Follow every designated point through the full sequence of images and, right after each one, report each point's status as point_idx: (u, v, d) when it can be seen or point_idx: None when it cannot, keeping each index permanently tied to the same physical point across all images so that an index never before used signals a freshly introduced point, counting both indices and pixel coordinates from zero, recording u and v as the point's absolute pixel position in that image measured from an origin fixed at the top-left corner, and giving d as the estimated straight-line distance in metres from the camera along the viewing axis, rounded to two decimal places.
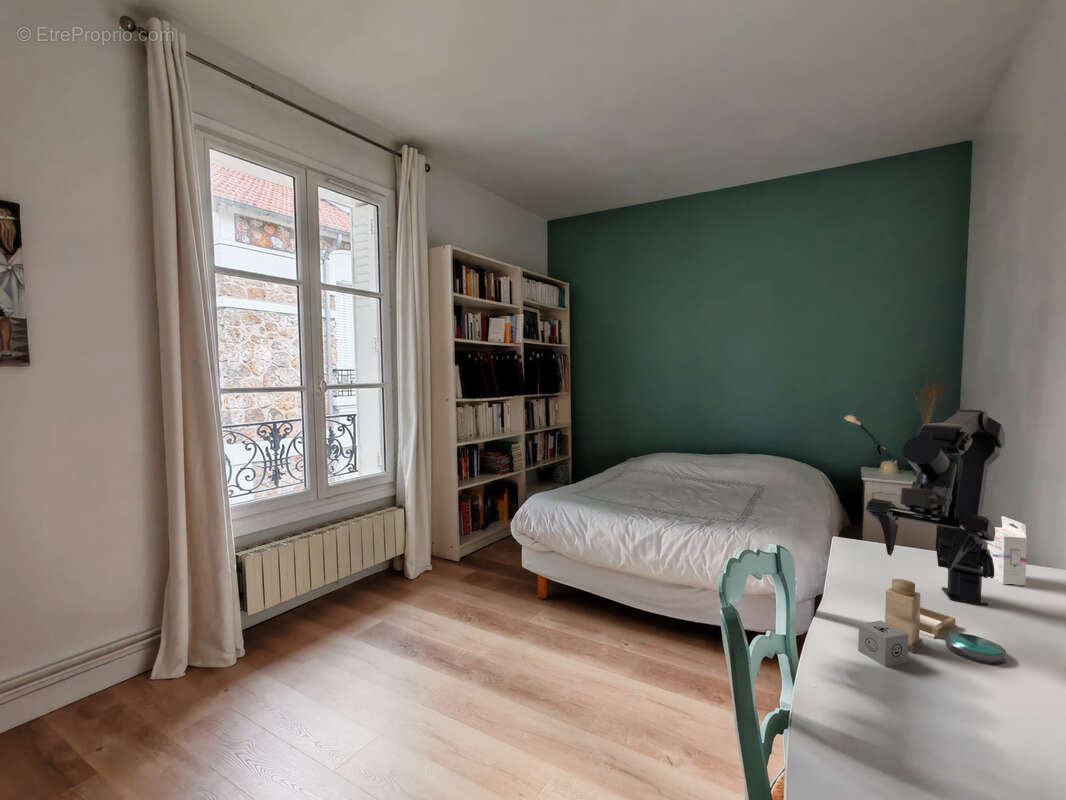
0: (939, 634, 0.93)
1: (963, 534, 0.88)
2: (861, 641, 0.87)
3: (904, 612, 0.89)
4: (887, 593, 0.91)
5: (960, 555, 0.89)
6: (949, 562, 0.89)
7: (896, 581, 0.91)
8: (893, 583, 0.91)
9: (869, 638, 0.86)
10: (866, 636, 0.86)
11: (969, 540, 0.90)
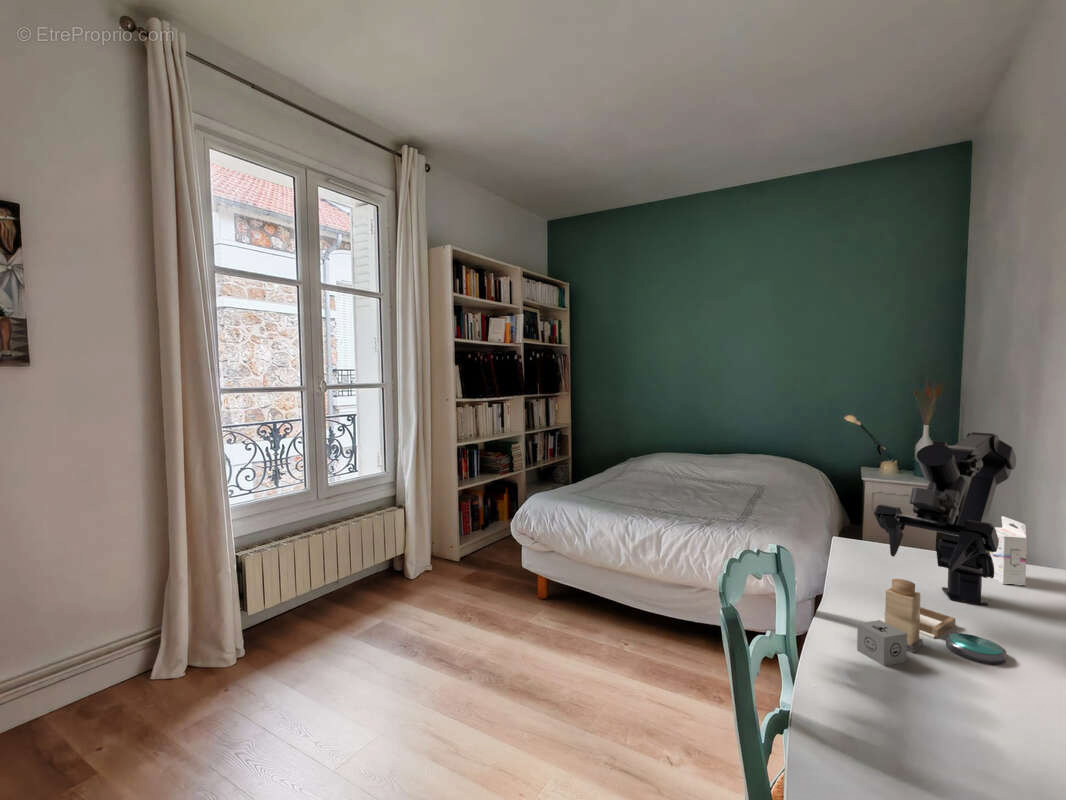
0: (939, 634, 0.93)
1: (968, 537, 0.91)
2: (860, 641, 0.88)
3: (904, 612, 0.89)
4: (887, 593, 0.91)
5: (962, 559, 0.92)
6: (951, 562, 0.91)
7: (896, 581, 0.91)
8: (893, 583, 0.91)
9: (868, 638, 0.86)
10: (865, 636, 0.87)
11: (972, 547, 0.93)
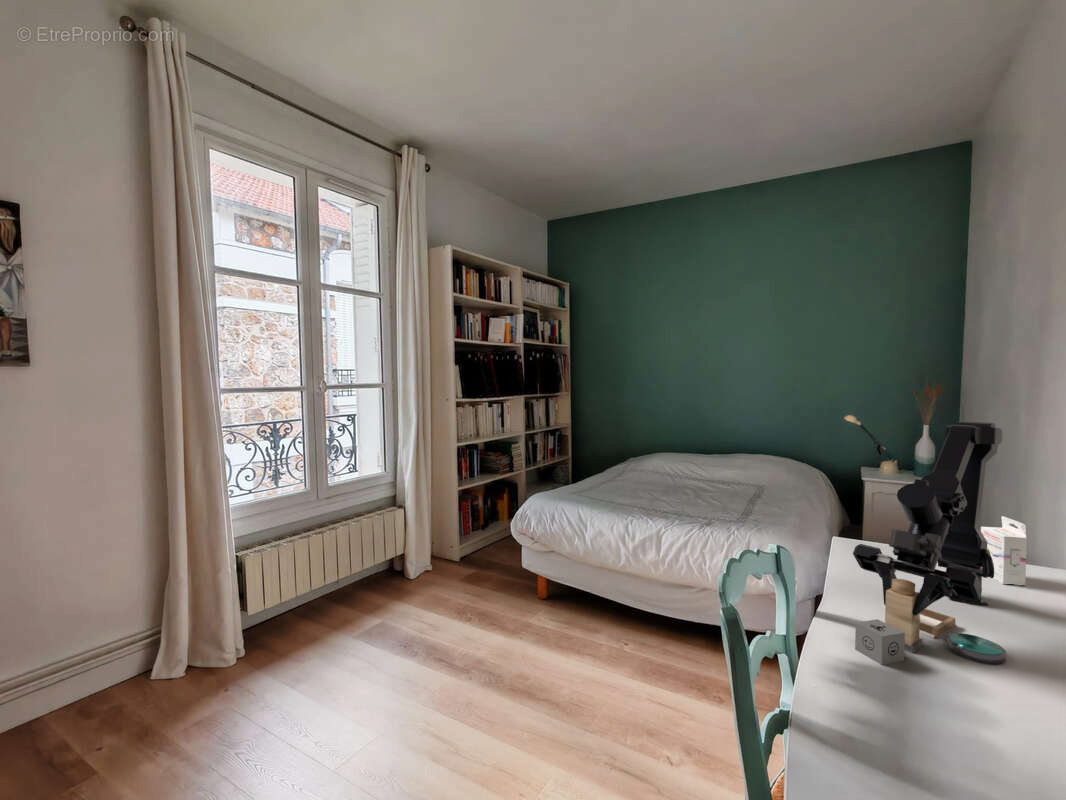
0: (939, 634, 0.93)
1: (932, 580, 0.88)
2: (858, 640, 0.88)
3: (904, 612, 0.89)
4: (887, 593, 0.91)
5: (927, 603, 0.89)
6: (915, 607, 0.88)
7: (896, 581, 0.91)
8: (893, 583, 0.91)
9: (866, 637, 0.86)
10: (863, 635, 0.87)
11: (937, 590, 0.89)
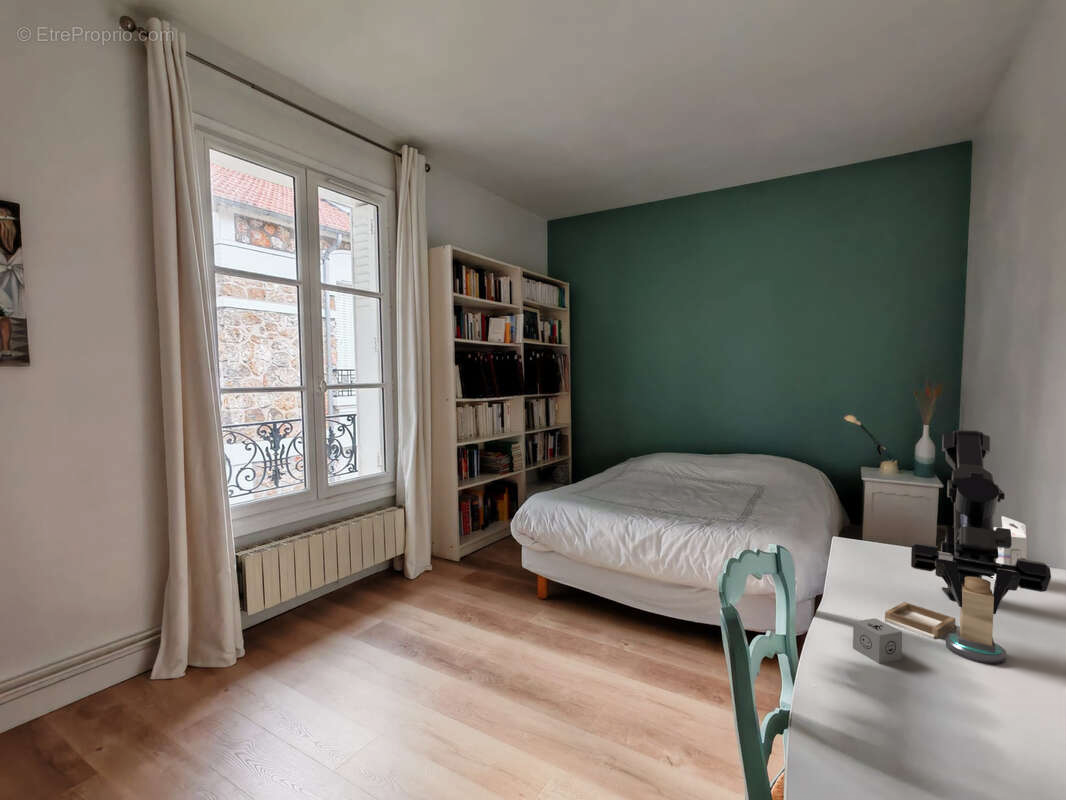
0: (939, 634, 0.93)
1: (1006, 576, 0.86)
2: (855, 639, 0.88)
3: (985, 612, 0.85)
4: (964, 593, 0.87)
5: (1001, 599, 0.86)
6: (995, 605, 0.85)
7: (971, 580, 0.87)
8: (969, 582, 0.87)
9: (863, 635, 0.87)
10: (860, 634, 0.87)
11: None
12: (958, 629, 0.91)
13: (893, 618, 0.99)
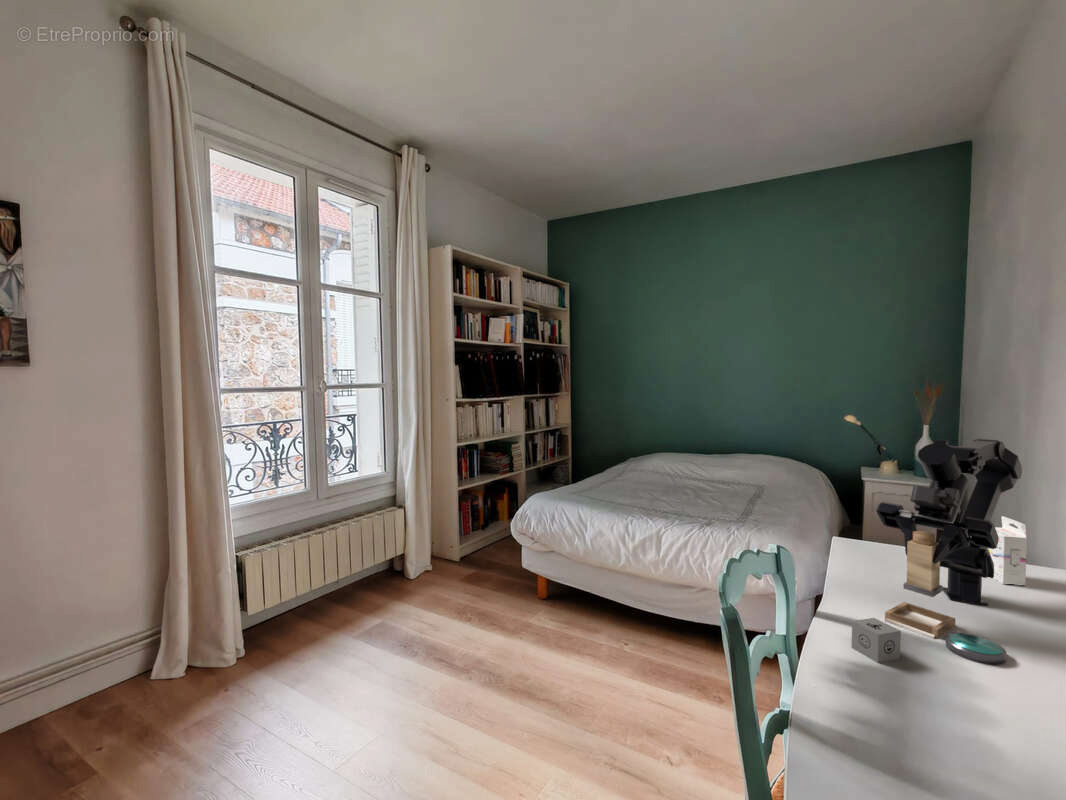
0: (939, 634, 0.93)
1: (951, 530, 0.95)
2: (854, 638, 0.89)
3: (925, 560, 0.96)
4: (908, 544, 0.98)
5: (946, 552, 0.96)
6: (935, 555, 0.95)
7: (917, 533, 0.98)
8: (914, 534, 0.98)
9: (862, 635, 0.87)
10: (859, 633, 0.88)
11: (956, 541, 0.96)
12: None
13: (893, 618, 0.99)
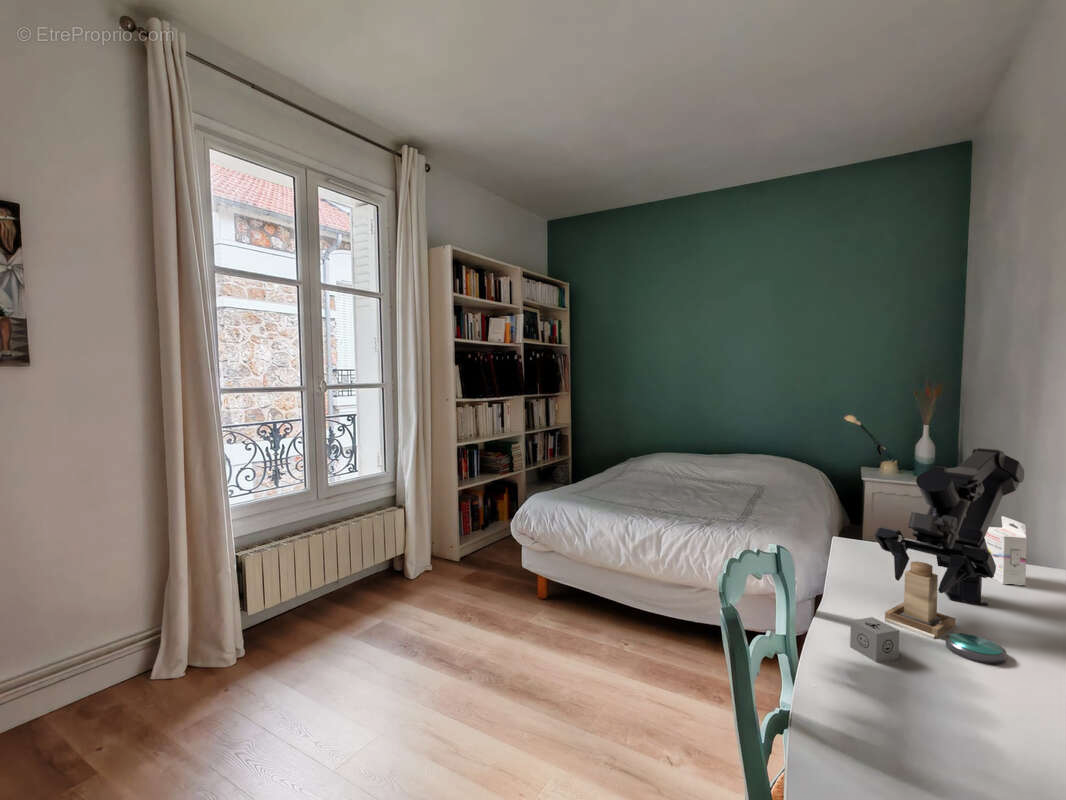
0: (939, 634, 0.93)
1: (957, 560, 0.94)
2: (853, 637, 0.89)
3: (922, 591, 0.97)
4: (906, 574, 0.99)
5: (952, 582, 0.95)
6: (941, 585, 0.94)
7: (915, 564, 0.98)
8: (912, 565, 0.99)
9: (861, 634, 0.87)
10: (858, 632, 0.88)
11: (963, 570, 0.96)
12: None
13: (893, 618, 0.99)
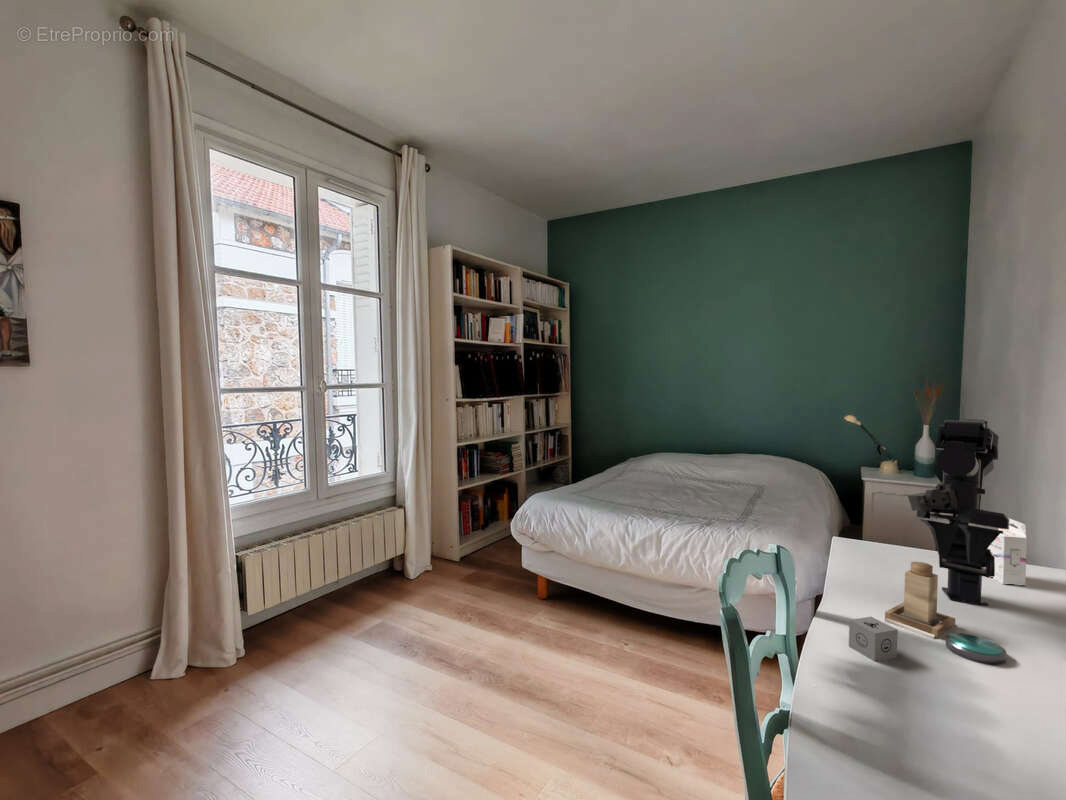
0: (939, 634, 0.93)
1: (965, 529, 0.94)
2: (851, 637, 0.89)
3: (922, 591, 0.97)
4: (906, 574, 0.99)
5: (980, 548, 0.93)
6: (968, 557, 0.94)
7: (915, 564, 0.99)
8: (912, 565, 0.99)
9: (859, 634, 0.88)
10: (856, 632, 0.88)
11: (987, 531, 0.93)
12: None
13: (893, 618, 0.99)
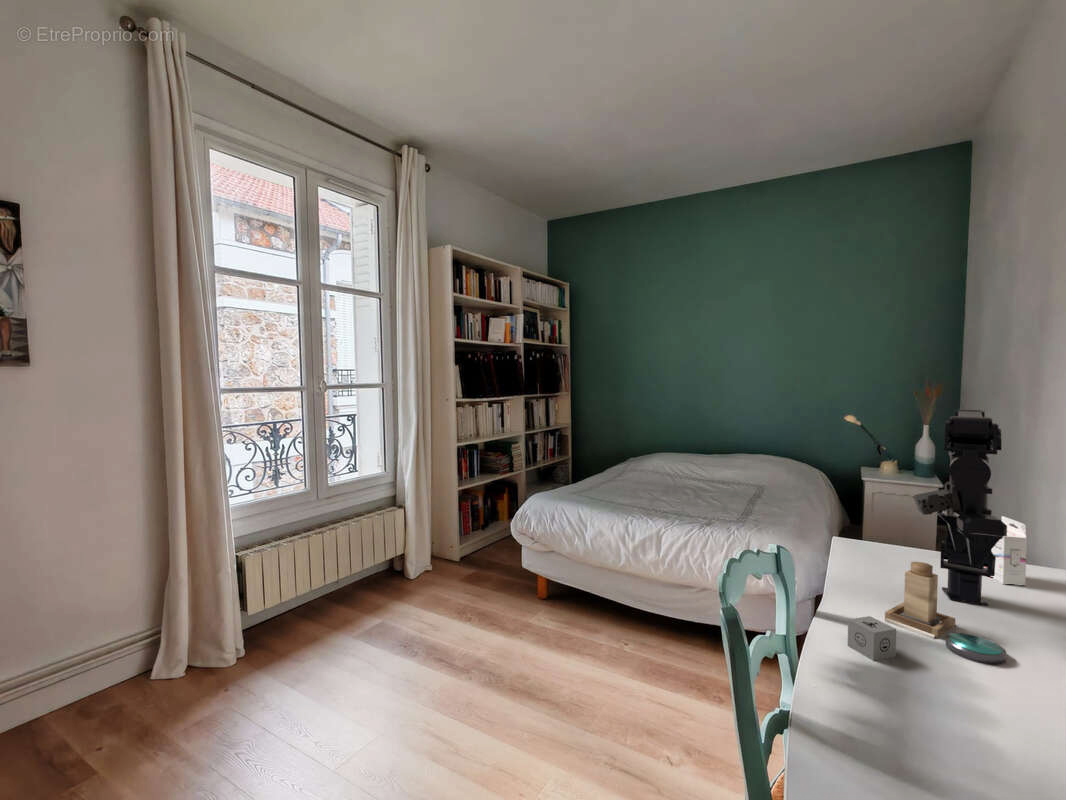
0: (939, 634, 0.93)
1: None
2: (850, 636, 0.89)
3: (922, 591, 0.97)
4: (906, 574, 0.99)
5: (981, 552, 0.93)
6: (970, 560, 0.94)
7: (915, 564, 0.99)
8: (912, 565, 0.99)
9: (858, 633, 0.88)
10: (855, 631, 0.88)
11: None
12: None
13: (893, 618, 0.99)
